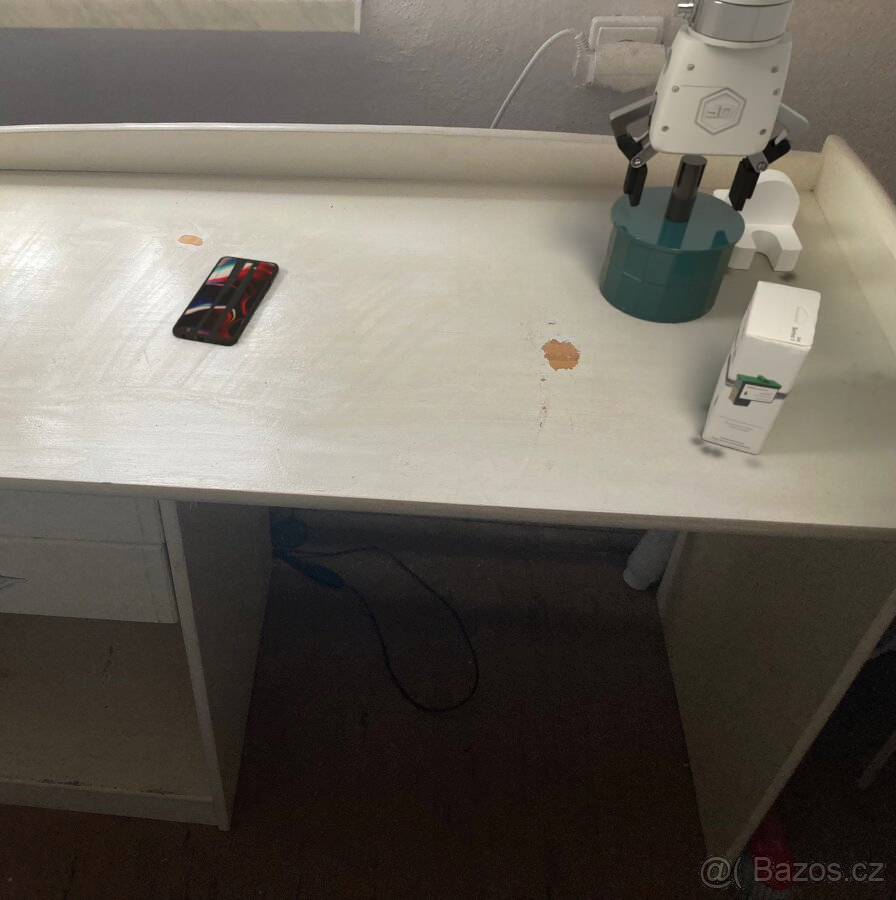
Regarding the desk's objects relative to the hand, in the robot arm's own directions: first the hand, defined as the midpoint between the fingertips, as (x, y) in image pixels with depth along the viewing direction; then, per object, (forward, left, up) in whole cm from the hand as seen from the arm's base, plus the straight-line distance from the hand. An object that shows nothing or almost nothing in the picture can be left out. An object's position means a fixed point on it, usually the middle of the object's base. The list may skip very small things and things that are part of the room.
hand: (683, 202), depth 84 cm
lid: (0, 0, -2) cm, 2 cm away
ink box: (-11, +17, -10) cm, 23 cm away
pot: (0, 0, -10) cm, 10 cm away
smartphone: (+40, +22, -10) cm, 47 cm away
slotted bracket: (-7, -15, -10) cm, 19 cm away
